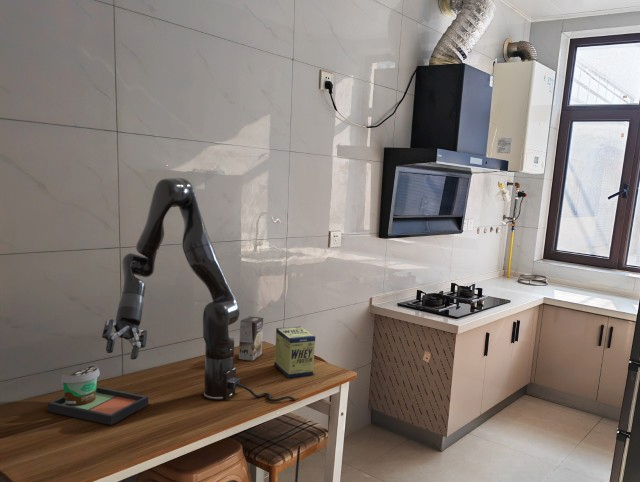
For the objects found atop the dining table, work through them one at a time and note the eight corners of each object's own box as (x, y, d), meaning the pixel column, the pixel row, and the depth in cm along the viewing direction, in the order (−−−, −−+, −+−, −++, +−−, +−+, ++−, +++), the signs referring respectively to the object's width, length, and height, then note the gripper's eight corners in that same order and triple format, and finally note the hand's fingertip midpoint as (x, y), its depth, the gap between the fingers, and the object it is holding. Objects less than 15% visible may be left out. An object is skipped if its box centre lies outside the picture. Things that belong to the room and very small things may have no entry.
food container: (79, 410, 163) (79, 379, 161) (61, 407, 164) (61, 375, 163) (109, 395, 175) (108, 366, 173) (92, 392, 176) (91, 363, 175)
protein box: (288, 378, 207) (290, 338, 204) (273, 364, 220) (275, 327, 217) (313, 375, 213) (316, 336, 210) (298, 362, 225) (300, 325, 222)
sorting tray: (148, 404, 174) (148, 396, 174) (111, 425, 159) (110, 416, 158) (89, 392, 179) (89, 384, 178) (48, 411, 164) (47, 402, 163)
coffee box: (253, 361, 222) (254, 322, 219) (238, 359, 223) (239, 320, 220) (262, 354, 231) (263, 317, 228) (247, 352, 232) (249, 315, 229)
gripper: (118, 300, 176) (108, 348, 170) (155, 313, 188) (148, 359, 181) (103, 304, 179) (93, 352, 173) (141, 317, 191) (133, 362, 184)
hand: (121, 355), depth 177 cm, fingers open, 8 cm apart
